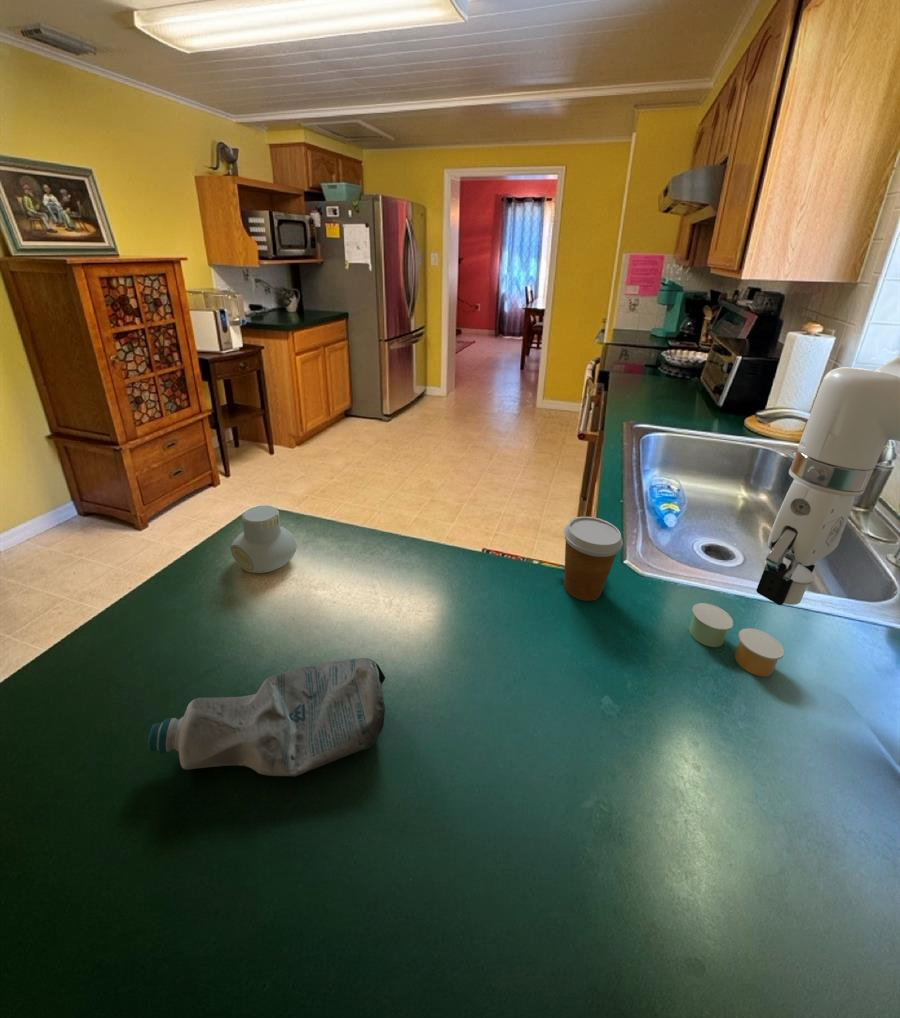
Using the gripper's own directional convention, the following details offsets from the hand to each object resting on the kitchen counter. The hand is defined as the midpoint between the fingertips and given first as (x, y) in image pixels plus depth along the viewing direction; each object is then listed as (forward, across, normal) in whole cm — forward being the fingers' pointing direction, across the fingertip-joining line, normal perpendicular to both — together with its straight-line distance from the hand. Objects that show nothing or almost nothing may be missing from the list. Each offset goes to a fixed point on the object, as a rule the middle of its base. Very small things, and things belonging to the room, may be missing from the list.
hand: (780, 589), depth 64 cm
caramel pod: (+13, 0, 0) cm, 13 cm away
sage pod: (+13, -1, +6) cm, 15 cm away
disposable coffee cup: (+14, -10, +24) cm, 29 cm away
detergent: (+14, -61, +23) cm, 67 cm away
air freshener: (+14, -55, +57) cm, 80 cm away
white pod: (+1, 0, 0) cm, 1 cm away
